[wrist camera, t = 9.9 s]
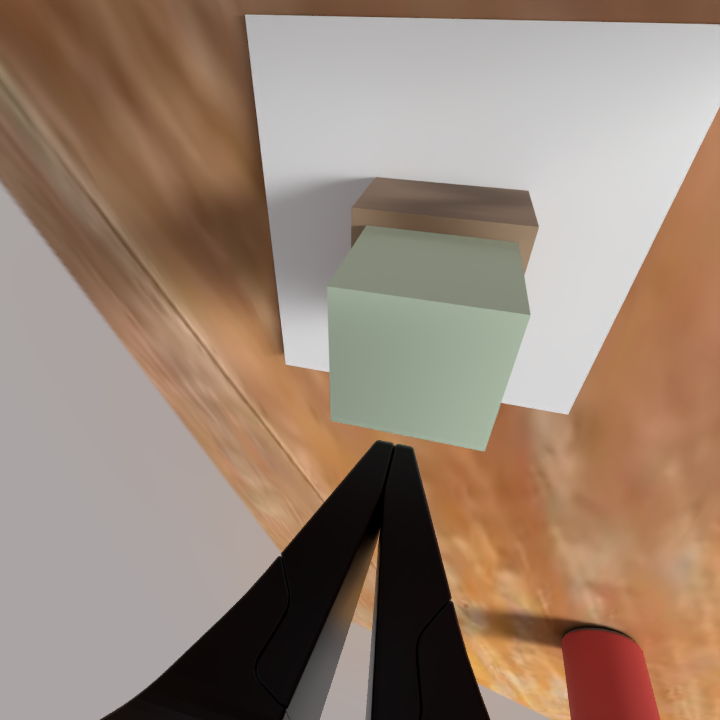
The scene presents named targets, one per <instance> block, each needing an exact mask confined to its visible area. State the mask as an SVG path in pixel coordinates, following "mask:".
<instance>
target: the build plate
mask: <svg viewBox="0 0 720 720" xmlns="http://www.w3.org/2000/svg"><path fill="white" fill-rule="evenodd" d="M245 19H246V28H247V36H248V45H249V54H250V62H251V71H252V79H253V88H254V96H255V105H256V113H257V122H258V130H259V139H260V148H261V156H262V165H263V173H264V182H265V190H266V199H267V207H268V216H269V224H270V233H271V242H272V250H273V259H274V267H275V276H276V284H277V293H278V301H279V310H280V318H281V327H282V336H283V344H284V353H285V361H286V365H292V366H297V367H303V368H309V369H314V370H320V371H326V372H329V339H328V304H327V286H328V284H329V282H330V281H331V279H332V278H333V276H334V275H335V273H336V272H337V270H338V269H339V267H340V265H341V264H342V262H343V261H344V259H345V258H346V256H347V255H348V253H349V252H350V250H351V207H352V206H353V205H354V204H355V203H356V201H357V200H358V199H359V198H360V196H361V195H362V194H363V193H364V191H365V190H366V189H367V188H368V186H369V185H370V184H371V183H372V181H373V180H374V179H375V178H376V177H381V178H393V179H404V180H415V181H426V182H437V183H448V184H459V185H470V186H482V187H493V188H504V189H515V190H526V191H529V194H530V197H531V201H532V204H533V208H534V211H535V215H536V218H537V222H538V225H539V229H538V232H537V236H536V239H535V242H534V246H533V249H532V252H531V255H530V259H529V262H528V265H527V269H526V272H525V275H524V278H525V284H526V290H527V296H528V302H529V308H530V314H531V316H530V319H529V322H528V325H527V328H526V331H525V334H524V337H523V339H522V342H521V345H520V348H519V351H518V354H517V357H516V360H515V363H514V366H513V369H512V372H511V375H510V378H509V381H508V384H507V387H506V390H505V393H504V396H503V399H502V401H501V403H506V404H511V405H517V406H522V407H528V408H534V409H539V410H545V411H551V412H556V413H562V414H567V415H568V413H569V411H570V409H571V407H572V405H573V403H574V401H575V399H576V397H577V395H578V393H579V391H580V389H581V387H582V385H583V383H584V381H585V379H586V377H587V375H588V373H589V371H590V369H591V367H592V365H593V363H594V361H595V359H596V356H597V354H598V352H599V350H600V348H601V346H602V344H603V342H604V340H605V338H606V336H607V334H608V332H609V330H610V328H611V326H612V324H613V322H614V320H615V318H616V316H617V314H618V312H619V310H620V308H621V306H622V304H623V302H624V300H625V298H626V296H627V294H628V292H629V289H630V287H631V285H632V283H633V281H634V279H635V277H636V275H637V273H638V271H639V269H640V267H641V265H642V263H643V261H644V259H645V257H646V255H647V253H648V251H649V249H650V247H651V245H652V243H653V241H654V239H655V237H656V235H657V233H658V231H659V229H660V227H661V225H662V222H663V220H664V218H665V216H666V214H667V212H668V210H669V208H670V206H671V204H672V202H673V200H674V198H675V196H676V194H677V192H678V190H679V188H680V186H681V184H682V182H683V180H684V178H685V176H686V174H687V172H688V170H689V168H690V166H691V164H692V162H693V160H694V158H695V156H696V153H697V151H698V149H699V147H700V145H701V143H702V141H703V139H704V137H705V135H706V133H707V131H708V129H709V127H710V125H711V123H712V121H713V119H714V117H715V115H716V113H717V111H718V109H719V107H720V24H676V23H628V22H580V21H532V20H484V19H436V18H388V17H340V16H292V15H245Z"/></svg>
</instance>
